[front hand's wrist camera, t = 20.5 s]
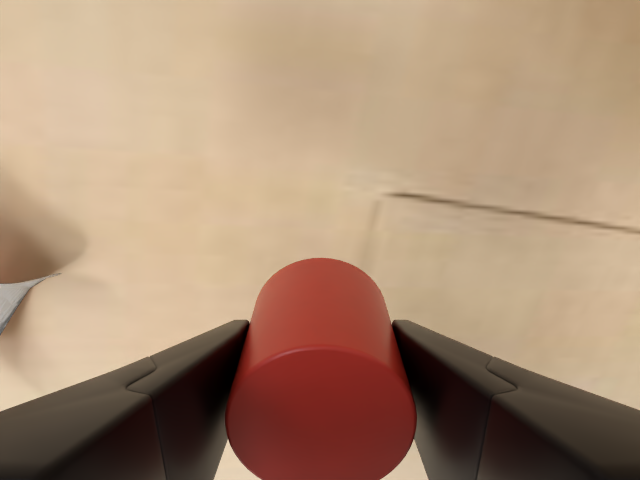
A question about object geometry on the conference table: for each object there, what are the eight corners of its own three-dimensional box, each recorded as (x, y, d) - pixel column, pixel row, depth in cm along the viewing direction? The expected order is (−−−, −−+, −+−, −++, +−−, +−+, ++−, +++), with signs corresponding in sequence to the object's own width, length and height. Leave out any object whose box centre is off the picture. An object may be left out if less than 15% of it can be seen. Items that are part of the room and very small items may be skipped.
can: (335, 230, 11) (343, 309, 7) (411, 328, 13) (454, 444, 9) (227, 304, 12) (182, 412, 8) (307, 391, 13) (302, 522, 9)
